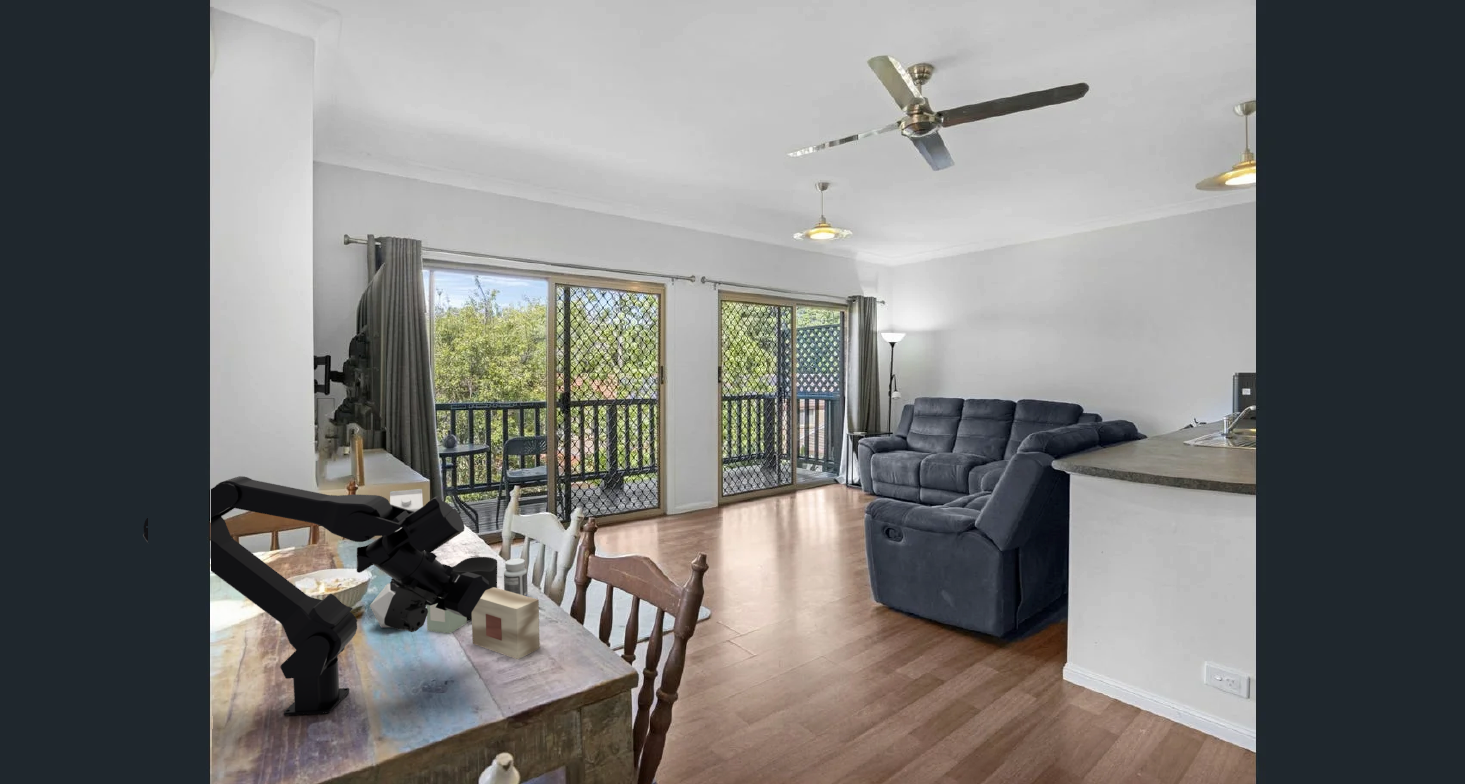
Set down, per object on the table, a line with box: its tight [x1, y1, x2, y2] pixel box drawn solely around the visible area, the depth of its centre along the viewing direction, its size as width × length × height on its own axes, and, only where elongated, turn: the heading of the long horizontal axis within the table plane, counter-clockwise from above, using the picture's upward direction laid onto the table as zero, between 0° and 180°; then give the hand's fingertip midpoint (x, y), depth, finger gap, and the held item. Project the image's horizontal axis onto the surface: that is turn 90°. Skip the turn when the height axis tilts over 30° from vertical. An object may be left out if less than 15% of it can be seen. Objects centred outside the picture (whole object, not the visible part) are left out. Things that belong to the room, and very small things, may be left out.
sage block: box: [426, 603, 468, 634], centre depth 127 cm, size 5×5×7 cm
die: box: [369, 583, 395, 629], centre depth 128 cm, size 8×9×10 cm
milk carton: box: [389, 488, 424, 532], centre depth 163 cm, size 7×7×19 cm
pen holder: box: [451, 556, 498, 621], centre depth 134 cm, size 9×9×10 cm
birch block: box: [471, 587, 541, 660], centre depth 119 cm, size 5×12×9 cm, turn 59°
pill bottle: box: [503, 557, 529, 597], centre depth 141 cm, size 5×5×8 cm
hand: (470, 608), depth 112 cm, fingers closed
